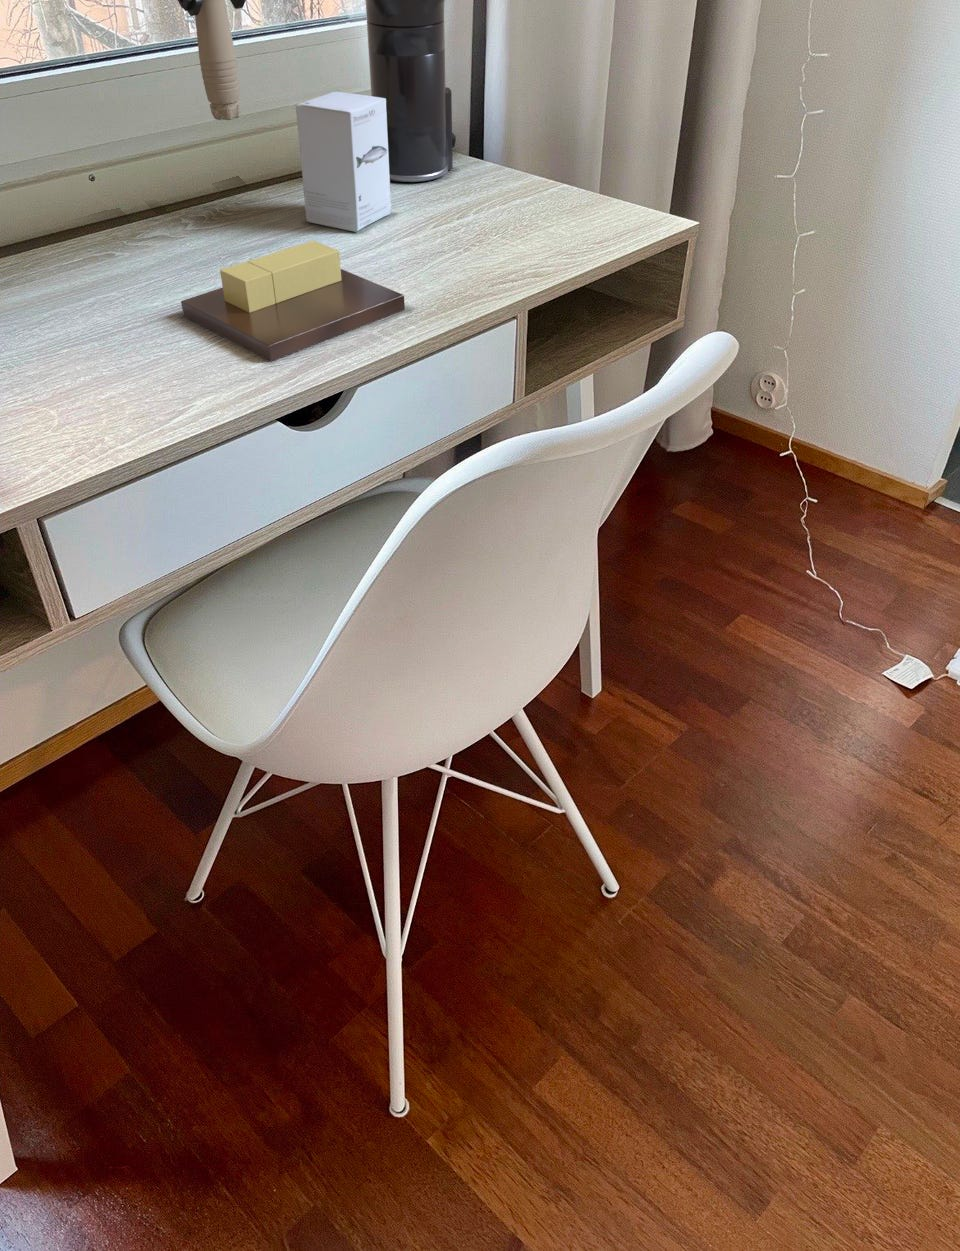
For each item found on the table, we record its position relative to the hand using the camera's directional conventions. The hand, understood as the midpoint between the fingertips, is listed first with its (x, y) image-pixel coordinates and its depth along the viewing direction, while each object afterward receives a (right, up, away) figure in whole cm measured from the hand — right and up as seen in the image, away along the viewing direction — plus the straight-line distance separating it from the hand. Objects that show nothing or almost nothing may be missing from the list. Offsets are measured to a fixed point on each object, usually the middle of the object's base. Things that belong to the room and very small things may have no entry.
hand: (219, 6), depth 109 cm
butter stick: (+9, -32, -8) cm, 34 cm away
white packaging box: (+12, -18, +12) cm, 25 cm away
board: (+9, -35, -9) cm, 37 cm away
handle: (-1, -8, +8) cm, 11 cm away
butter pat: (+6, -34, -11) cm, 37 cm away
